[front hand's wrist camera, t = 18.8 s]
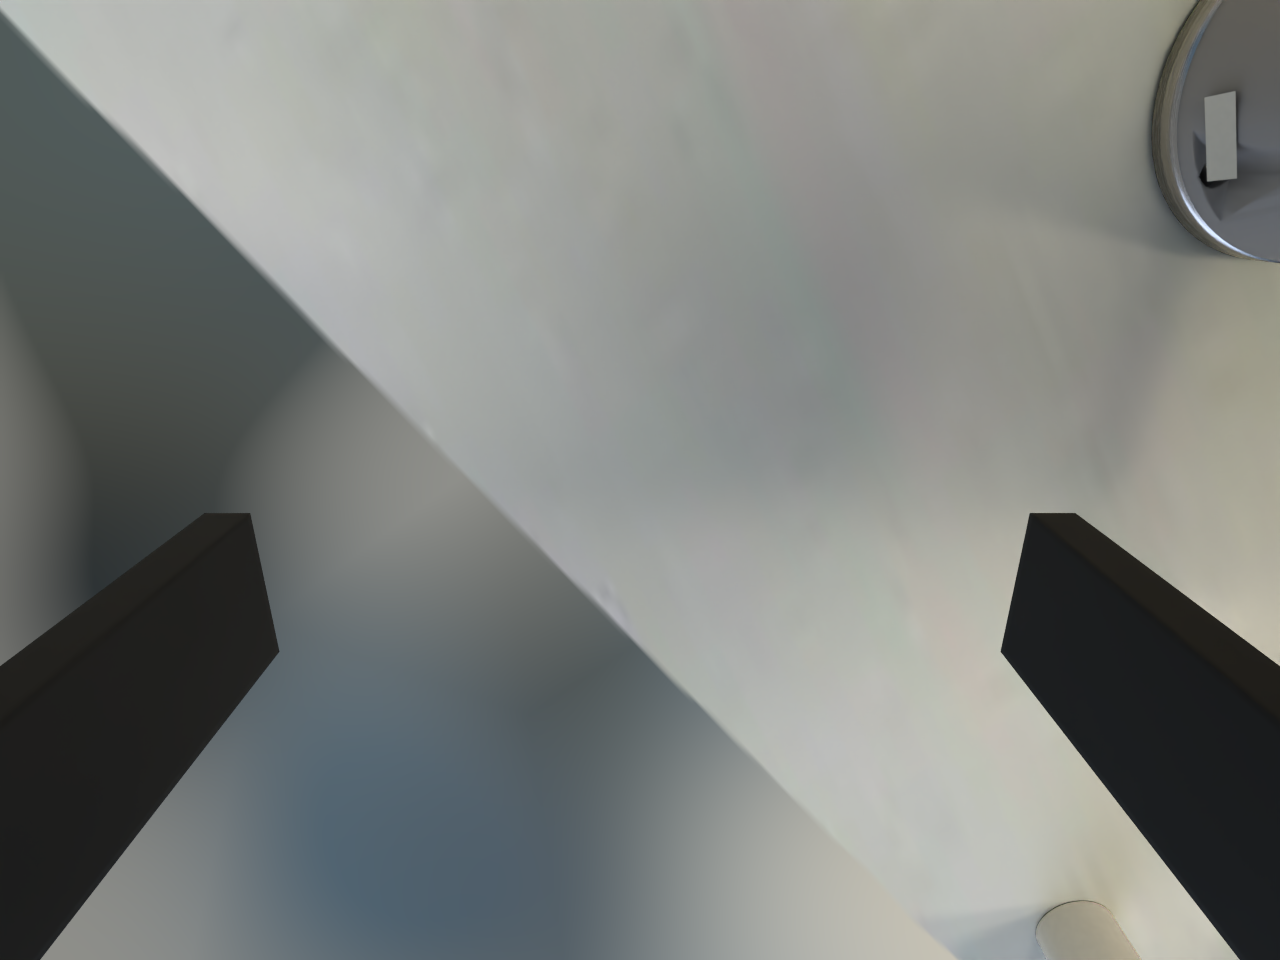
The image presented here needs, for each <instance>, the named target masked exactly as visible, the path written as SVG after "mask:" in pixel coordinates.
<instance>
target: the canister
mask: <svg viewBox="0 0 1280 960" xmlns="http://www.w3.org/2000/svg"><path fill="white" fill-rule="evenodd" d="M1036 939H1037V942H1038V944H1039V945H1040V947H1041V949H1042V951H1043V953H1044V955H1045V957H1046V959H1047V960H1141V958H1140V957H1139V955H1138V953H1137V952H1136V950H1135V949H1134V947H1133V946H1132V944H1131V943H1130V941H1129V940H1128V938H1127V937H1126V935H1125V934H1124V932H1123V930H1122V929H1121V927H1120V926H1119V924H1118V923H1117V921H1116V920H1115V918H1114V917H1113V915H1112V914H1111V912H1110V911H1109V910H1108V909H1107V908H1105V907H1104V906H1102V905H1100V904H1098V903H1095V902H1089V901H1076V902H1070V903H1066V904H1063V905H1061V906H1058V907H1056V908H1055V909H1053V910H1051V911H1050V912H1048V913H1047V914H1046V915H1045V916H1044V917H1043V918H1042V919H1041V921H1040V922H1039V924H1038V926H1037V929H1036Z"/></svg>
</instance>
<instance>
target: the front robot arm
mask: <svg viewBox="0 0 1280 960" xmlns="http://www.w3.org/2000/svg"><path fill="white" fill-rule="evenodd" d="M1152 153H1153V160H1154V166H1155V172H1156V175H1157V179H1158V183H1159V186H1160V188H1161V191H1162V193H1163V196H1164V198H1165V200H1166V202H1167V204H1168V206H1169V207H1170V209H1171V211H1172V212H1173V214H1174V215H1175V216H1176V218H1177V219H1178V221H1179V222H1180V223H1181V224H1182V225H1183V226H1184V227H1185V228H1186V229H1187V230H1188V231H1189V232H1190V233H1191V234H1192V235H1193V236H1195V237H1196V238H1197V239H1198V240H1200V241H1201V242H1203V243H1205V244H1206V245H1208V246H1209V247H1211V248H1214V249H1216V250H1218V251H1220V252H1222V253H1225V254H1228V255H1231V256H1234V257H1239V258H1244V259H1250V260H1258V261H1267V262H1275V263H1280V0H1200V1H1199V3H1198V4H1197V6H1196V7H1195V9H1194V10H1193V12H1192V13H1191V15H1190V16H1189V18H1188V19H1187V21H1186V23H1185V25H1184V26H1183V28H1182V30H1181V32H1180V33H1179V35H1178V37H1177V39H1176V42H1175V44H1174V46H1173V48H1172V50H1171V52H1170V55H1169V57H1168V60H1167V62H1166V65H1165V67H1164V70H1163V73H1162V77H1161V80H1160V83H1159V87H1158V91H1157V96H1156V100H1155V105H1154V113H1153V121H1152ZM278 653H279V648H278V643H277V639H276V634H275V629H274V624H273V619H272V615H271V610H270V605H269V601H268V596H267V591H266V586H265V582H264V577H263V572H262V567H261V563H260V558H259V553H258V548H257V544H256V539H255V534H254V529H253V525H252V520H251V515H250V513H204V514H203V515H202V516H200V517H199V518H198V519H196V520H195V521H194V522H192V523H191V524H189V525H188V526H187V527H186V528H184V529H183V530H181V531H180V532H179V533H177V534H176V535H175V536H173V537H172V538H171V539H169V540H168V541H167V542H165V543H164V544H163V545H161V546H160V547H159V548H157V549H156V550H155V551H153V552H152V553H151V554H149V555H148V556H147V557H145V558H144V559H143V560H141V561H140V562H139V563H137V564H136V565H135V566H133V567H132V568H131V569H129V570H128V571H127V572H125V573H124V574H123V575H121V576H120V577H119V578H117V579H116V580H115V581H113V582H112V583H111V584H109V585H108V586H107V587H105V588H104V589H103V590H101V591H100V592H99V593H97V594H96V595H95V596H93V597H92V598H91V599H89V600H88V601H87V602H85V603H84V604H83V605H81V606H80V607H79V608H77V609H76V610H75V611H73V612H72V613H71V614H69V615H68V616H67V617H65V618H64V619H63V620H61V621H60V622H59V623H57V624H56V625H55V626H53V627H52V628H51V629H49V630H48V631H47V632H45V633H44V634H43V635H41V636H40V637H39V638H37V639H36V640H35V641H33V642H32V643H31V644H29V645H28V646H27V647H25V648H24V649H23V650H21V651H20V652H19V653H17V654H16V655H15V656H13V657H12V658H11V659H9V660H8V661H7V662H5V663H4V664H3V665H1V666H0V960H40V959H41V958H42V957H43V955H44V954H45V953H46V951H47V950H48V949H49V948H50V946H51V945H52V944H53V942H54V941H55V940H56V939H57V937H58V936H59V935H60V933H61V932H62V931H63V930H64V928H65V927H66V926H67V924H68V923H69V922H70V921H71V919H72V918H73V917H74V915H75V914H76V913H77V912H78V910H79V909H80V908H81V906H82V905H83V904H84V903H85V901H86V900H87V899H88V897H89V896H90V895H91V894H92V892H93V891H94V890H95V888H96V887H97V886H98V885H99V883H100V882H101V881H102V879H103V878H104V877H105V876H106V874H107V873H108V872H109V870H110V869H111V868H112V866H113V865H114V864H115V863H116V861H117V860H118V859H119V857H120V856H121V855H122V854H123V852H124V851H125V850H126V848H127V847H128V846H129V845H130V843H131V842H132V841H133V839H134V838H135V837H136V835H137V834H138V833H139V832H140V830H141V829H142V828H143V827H144V825H145V824H146V823H147V821H148V820H149V819H150V818H151V816H152V815H153V814H154V812H155V811H156V810H157V808H158V807H159V806H160V805H161V803H162V802H163V801H164V800H165V798H166V797H167V796H168V794H169V793H170V792H171V791H172V789H173V788H174V787H175V785H176V784H177V783H178V781H179V780H180V779H181V778H182V776H183V775H184V774H185V772H186V771H187V770H188V769H189V767H190V766H191V765H192V763H193V762H194V761H195V760H196V758H197V757H198V756H199V754H200V753H201V752H202V751H203V749H204V748H205V747H206V745H207V744H208V743H209V742H210V740H211V739H212V738H213V736H214V735H215V734H216V733H217V731H218V730H219V729H220V727H221V726H222V725H223V723H224V722H225V721H226V720H227V718H228V717H229V716H230V715H231V713H232V712H233V711H234V709H235V708H236V707H237V705H238V704H239V703H240V702H241V700H242V699H243V698H244V696H245V695H246V694H247V693H248V691H249V690H250V689H251V687H252V686H253V685H254V684H255V682H256V681H257V680H258V678H259V677H260V676H261V675H262V673H263V672H264V671H265V669H266V668H267V667H268V666H269V664H270V663H271V662H272V660H273V659H274V658H275V656H276V655H277V654H278ZM1001 653H1002V654H1003V655H1004V657H1005V658H1006V659H1007V660H1008V662H1009V663H1010V664H1011V666H1012V667H1013V668H1014V669H1015V671H1016V672H1017V673H1018V675H1019V676H1020V677H1021V678H1022V680H1023V681H1024V682H1025V684H1026V685H1027V686H1028V687H1029V689H1030V690H1031V691H1032V693H1033V694H1034V695H1035V696H1036V698H1037V699H1038V700H1039V702H1040V703H1041V704H1042V705H1043V707H1044V708H1045V709H1046V711H1047V712H1048V713H1049V715H1050V716H1051V717H1052V718H1053V720H1054V721H1055V722H1056V724H1057V725H1058V726H1059V727H1060V729H1061V730H1062V731H1063V733H1064V734H1065V735H1066V736H1067V738H1068V739H1069V740H1070V742H1071V743H1072V744H1073V745H1074V747H1075V748H1076V749H1077V751H1078V752H1079V753H1080V754H1081V756H1082V757H1083V758H1084V760H1085V761H1086V762H1087V763H1088V765H1089V766H1090V767H1091V769H1092V770H1093V771H1094V772H1095V774H1096V775H1097V776H1098V778H1099V779H1100V780H1101V781H1102V783H1103V784H1104V785H1105V787H1106V788H1107V789H1108V791H1109V792H1110V793H1111V794H1112V796H1113V797H1114V798H1115V800H1116V801H1117V802H1118V803H1119V805H1120V806H1121V807H1122V809H1123V810H1124V811H1125V812H1126V814H1127V815H1128V816H1129V818H1130V819H1131V820H1132V821H1133V823H1134V824H1135V825H1136V827H1137V828H1138V829H1139V830H1140V832H1141V833H1142V834H1143V836H1144V837H1145V838H1146V839H1147V841H1148V842H1149V843H1150V845H1151V846H1152V847H1153V848H1154V850H1155V851H1156V852H1157V854H1158V855H1159V856H1160V857H1161V859H1162V860H1163V861H1164V863H1165V864H1166V865H1167V866H1168V868H1169V869H1170V870H1171V872H1172V873H1173V874H1174V876H1175V877H1176V878H1177V879H1178V881H1179V882H1180V883H1181V885H1182V886H1183V887H1184V888H1185V890H1186V891H1187V892H1188V894H1189V895H1190V896H1191V897H1192V899H1193V900H1194V901H1195V903H1196V904H1197V905H1198V906H1199V908H1200V909H1201V910H1202V912H1203V913H1204V914H1205V915H1206V917H1207V918H1208V919H1209V921H1210V922H1211V923H1212V924H1213V926H1214V927H1215V928H1216V930H1217V931H1218V932H1219V933H1220V935H1221V936H1222V937H1223V939H1224V940H1225V941H1226V942H1227V944H1228V945H1229V946H1230V948H1231V949H1232V950H1233V951H1234V953H1235V954H1236V955H1237V957H1238V958H1239V959H1240V960H1280V666H1279V665H1277V664H1276V663H1275V662H1273V661H1272V660H1271V659H1269V658H1268V657H1267V656H1265V655H1264V654H1263V653H1261V652H1260V651H1259V650H1257V649H1256V648H1255V647H1253V646H1252V645H1251V644H1249V643H1248V642H1247V641H1245V640H1244V639H1243V638H1241V637H1240V636H1239V635H1237V634H1236V633H1235V632H1233V631H1232V630H1231V629H1229V628H1228V627H1227V626H1225V625H1224V624H1223V623H1221V622H1220V621H1219V620H1217V619H1216V618H1215V617H1213V616H1212V615H1211V614H1209V613H1208V612H1207V611H1205V610H1204V609H1203V608H1201V607H1200V606H1199V605H1197V604H1196V603H1195V602H1193V601H1192V600H1191V599H1189V598H1188V597H1187V596H1185V595H1184V594H1183V593H1181V592H1180V591H1179V590H1177V589H1176V588H1175V587H1173V586H1172V585H1171V584H1169V583H1168V582H1167V581H1165V580H1164V579H1163V578H1161V577H1160V576H1159V575H1157V574H1156V573H1155V572H1153V571H1152V570H1151V569H1149V568H1148V567H1147V566H1145V565H1144V564H1143V563H1141V562H1140V561H1139V560H1137V559H1136V558H1135V557H1133V556H1132V555H1131V554H1129V553H1128V552H1127V551H1125V550H1124V549H1123V548H1121V547H1120V546H1119V545H1117V544H1116V543H1115V542H1113V541H1112V540H1111V539H1109V538H1108V537H1107V536H1105V535H1104V534H1103V533H1101V532H1100V531H1099V530H1097V529H1096V528H1095V527H1093V526H1092V525H1091V524H1089V523H1088V522H1087V521H1085V520H1084V519H1082V518H1081V517H1080V516H1078V515H1077V514H1076V513H1030V515H1029V520H1028V525H1027V529H1026V534H1025V539H1024V544H1023V548H1022V553H1021V558H1020V563H1019V567H1018V572H1017V577H1016V582H1015V586H1014V591H1013V596H1012V600H1011V605H1010V610H1009V615H1008V619H1007V624H1006V629H1005V634H1004V638H1003V643H1002V648H1001Z"/></svg>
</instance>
